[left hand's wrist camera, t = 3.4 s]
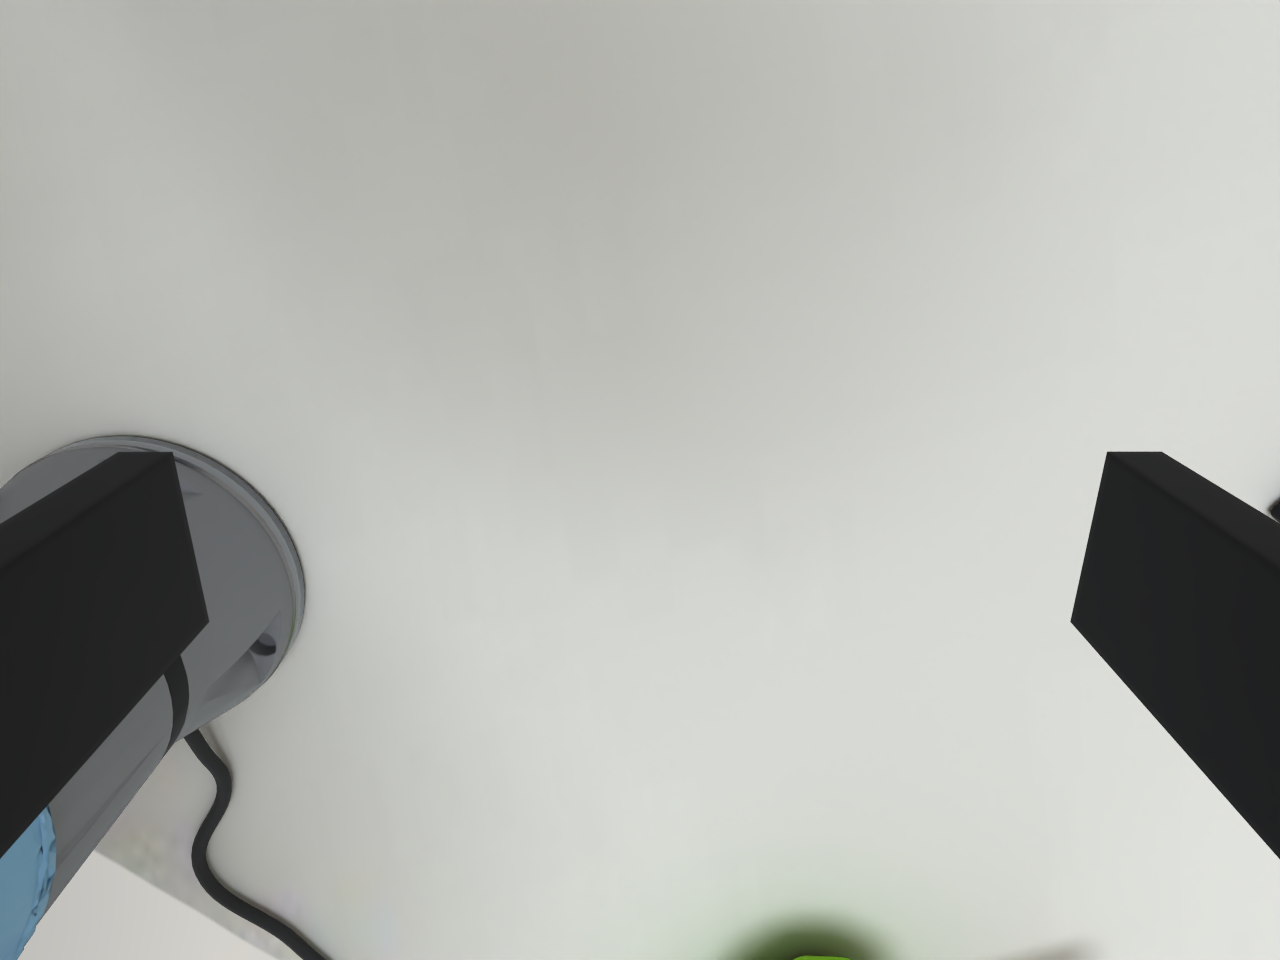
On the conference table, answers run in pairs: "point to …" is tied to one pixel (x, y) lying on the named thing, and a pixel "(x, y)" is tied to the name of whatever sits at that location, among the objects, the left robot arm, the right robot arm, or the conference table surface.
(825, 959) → the decorative tree
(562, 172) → the conference table surface
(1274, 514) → the black angled piece
